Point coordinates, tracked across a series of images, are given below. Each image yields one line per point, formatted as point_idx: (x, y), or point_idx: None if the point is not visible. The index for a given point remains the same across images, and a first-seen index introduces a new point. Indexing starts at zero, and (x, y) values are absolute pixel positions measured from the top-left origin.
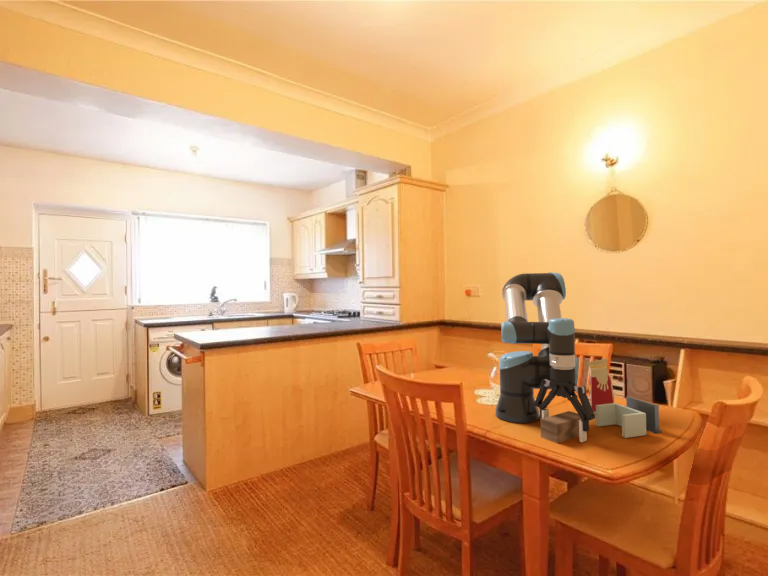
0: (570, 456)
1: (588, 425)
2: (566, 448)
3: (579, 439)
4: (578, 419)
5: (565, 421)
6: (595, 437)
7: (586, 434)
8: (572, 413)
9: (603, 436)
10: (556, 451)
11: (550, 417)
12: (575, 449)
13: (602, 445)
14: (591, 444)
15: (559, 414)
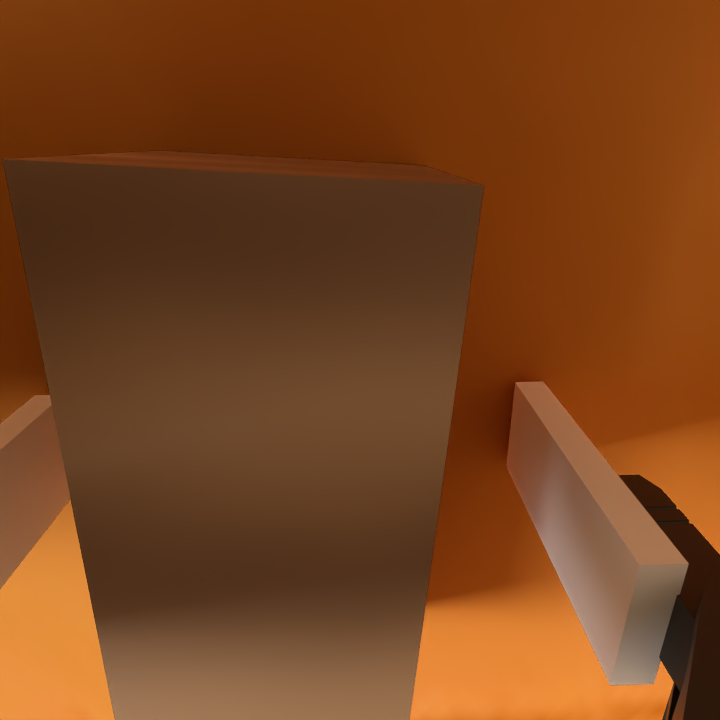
0: (580, 711)
1: (693, 541)
2: (490, 635)
3: (513, 480)
4: (445, 422)
5: (401, 695)
6: (565, 185)
7: (570, 418)
8: (186, 262)
9: (632, 49)
10: (467, 714)
11: (154, 710)
12: (551, 604)
13: (709, 356)
14: (612, 417)
15: (104, 516)
